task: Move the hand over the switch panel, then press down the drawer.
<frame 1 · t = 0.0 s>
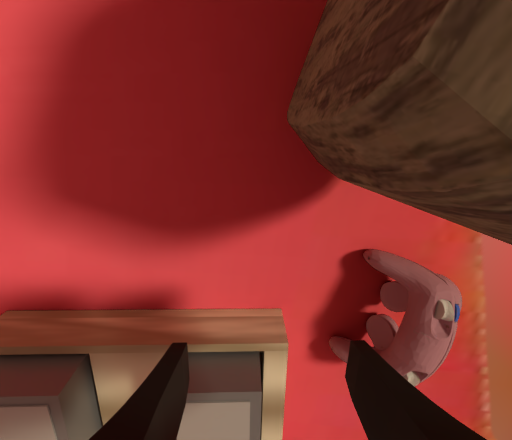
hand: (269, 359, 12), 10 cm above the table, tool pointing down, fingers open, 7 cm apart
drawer: (44, 434, 20), point 5 cm above the table, slide at 2.2 cm
switch panel: (155, 387, 25), on the table
tabletop clock: (370, 61, 18), on the table
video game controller: (373, 300, 24), on the table
key grey: (216, 430, 20), point 5 cm above the table, slide at 2.2 cm
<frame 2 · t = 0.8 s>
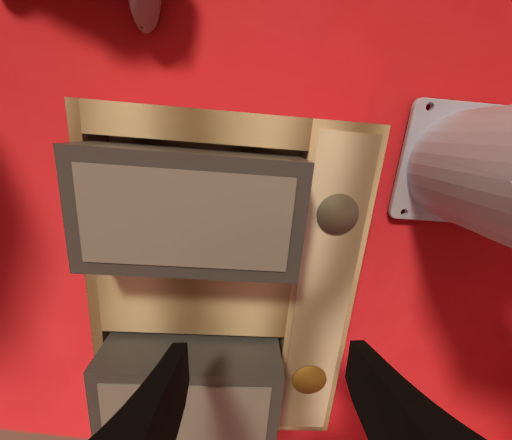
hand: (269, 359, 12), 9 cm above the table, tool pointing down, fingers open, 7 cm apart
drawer: (191, 390, 18), point 5 cm above the table, slide at 2.2 cm
switch panel: (227, 269, 21), on the table
key grey: (193, 210, 14), point 5 cm above the table, slide at 2.2 cm
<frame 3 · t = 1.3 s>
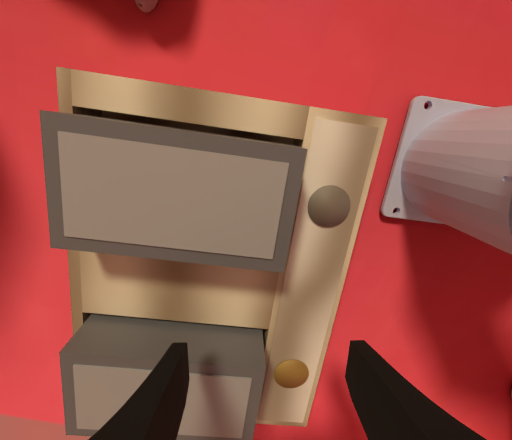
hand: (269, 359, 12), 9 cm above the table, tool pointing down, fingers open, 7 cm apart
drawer: (170, 377, 18), point 5 cm above the table, slide at 2.2 cm
switch panel: (215, 258, 21), on the table
key grey: (182, 192, 14), point 5 cm above the table, slide at 2.2 cm
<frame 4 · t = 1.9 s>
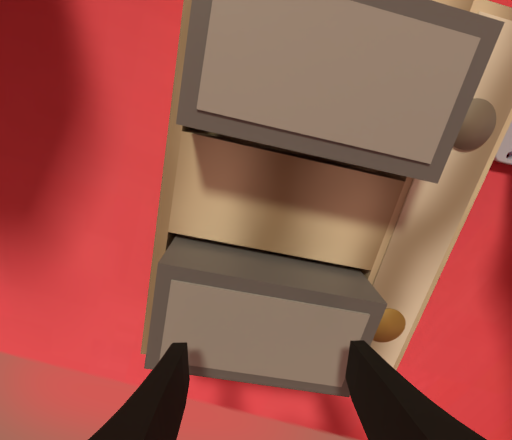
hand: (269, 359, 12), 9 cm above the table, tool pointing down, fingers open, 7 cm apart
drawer: (261, 315, 16), point 5 cm above the table, slide at 2.2 cm
switch panel: (302, 196, 19), on the table
key grey: (323, 82, 12), point 5 cm above the table, slide at 2.2 cm
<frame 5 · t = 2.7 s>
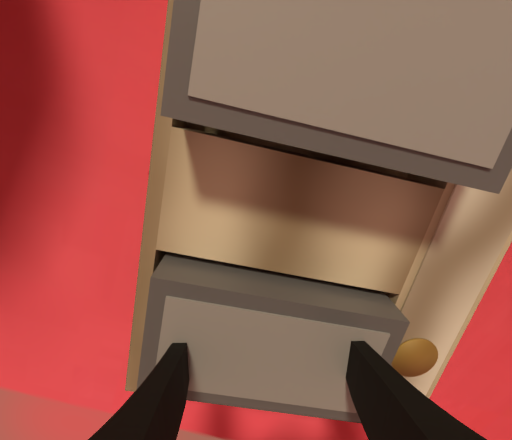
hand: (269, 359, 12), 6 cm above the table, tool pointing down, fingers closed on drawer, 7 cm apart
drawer: (266, 332, 14), point 4 cm above the table, slide at 1.0 cm, touching gripper
switch panel: (314, 204, 16), on the table
key grey: (351, 63, 9), point 5 cm above the table, slide at 2.2 cm
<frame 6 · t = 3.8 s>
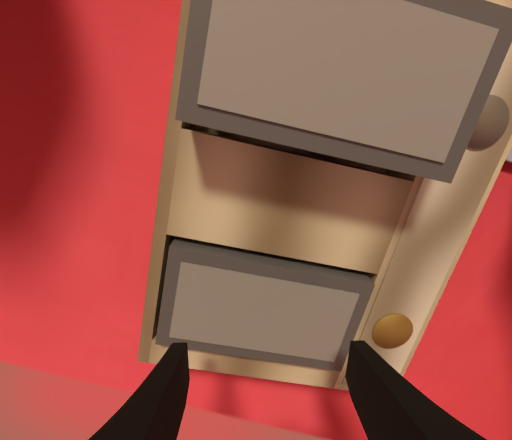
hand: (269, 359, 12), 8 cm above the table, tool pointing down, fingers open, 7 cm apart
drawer: (261, 297, 17), point 3 cm above the table, slide at -0.1 cm
switch panel: (305, 197, 18), on the table
key grey: (330, 76, 11), point 5 cm above the table, slide at 2.2 cm
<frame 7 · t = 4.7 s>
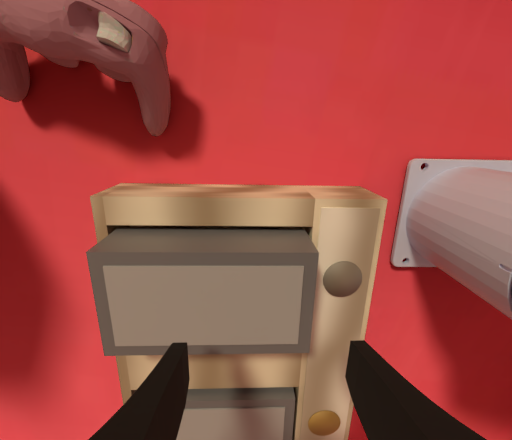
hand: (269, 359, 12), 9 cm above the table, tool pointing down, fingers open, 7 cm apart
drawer: (218, 410, 22), point 3 cm above the table, slide at -0.1 cm
switch panel: (241, 319, 23), on the table
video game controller: (98, 70, 17), on the table
key grey: (210, 288, 16), point 5 cm above the table, slide at 2.2 cm
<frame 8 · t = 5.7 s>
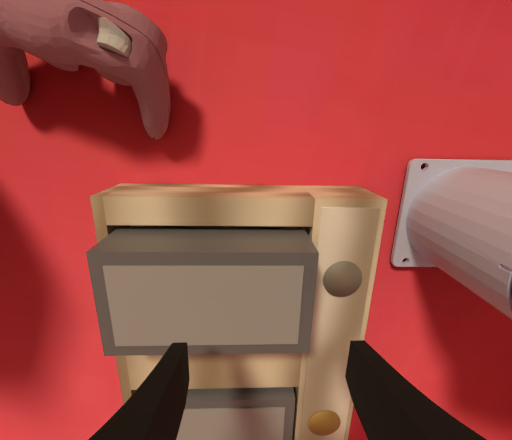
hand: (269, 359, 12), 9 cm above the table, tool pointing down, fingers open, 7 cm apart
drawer: (218, 410, 22), point 3 cm above the table, slide at -0.1 cm
switch panel: (241, 319, 23), on the table
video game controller: (99, 74, 17), on the table
key grey: (210, 288, 16), point 5 cm above the table, slide at 2.2 cm
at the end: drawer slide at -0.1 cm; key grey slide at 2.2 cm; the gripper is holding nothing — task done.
